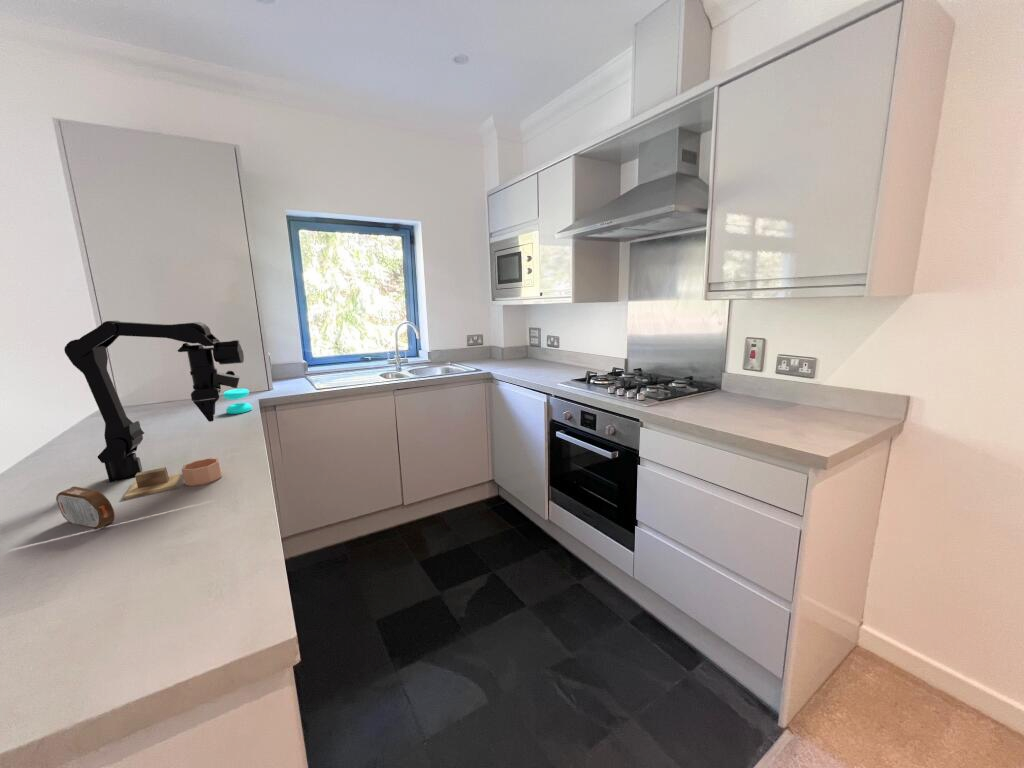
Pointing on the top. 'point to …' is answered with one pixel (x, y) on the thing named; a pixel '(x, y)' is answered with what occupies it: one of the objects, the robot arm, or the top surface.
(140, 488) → the lid
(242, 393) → the pair of cyan discs
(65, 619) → the top surface
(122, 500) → the mat
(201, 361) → the robot arm
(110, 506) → the tin
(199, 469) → the bowl
